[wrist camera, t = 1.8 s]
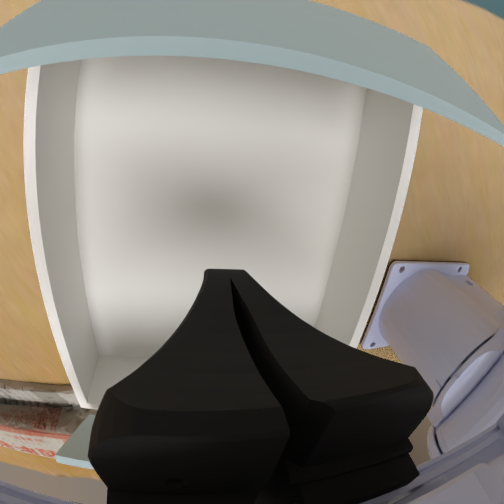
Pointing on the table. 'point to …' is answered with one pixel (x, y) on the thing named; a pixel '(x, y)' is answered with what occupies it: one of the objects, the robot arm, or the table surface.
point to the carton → (204, 197)
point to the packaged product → (38, 416)
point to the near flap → (248, 45)
